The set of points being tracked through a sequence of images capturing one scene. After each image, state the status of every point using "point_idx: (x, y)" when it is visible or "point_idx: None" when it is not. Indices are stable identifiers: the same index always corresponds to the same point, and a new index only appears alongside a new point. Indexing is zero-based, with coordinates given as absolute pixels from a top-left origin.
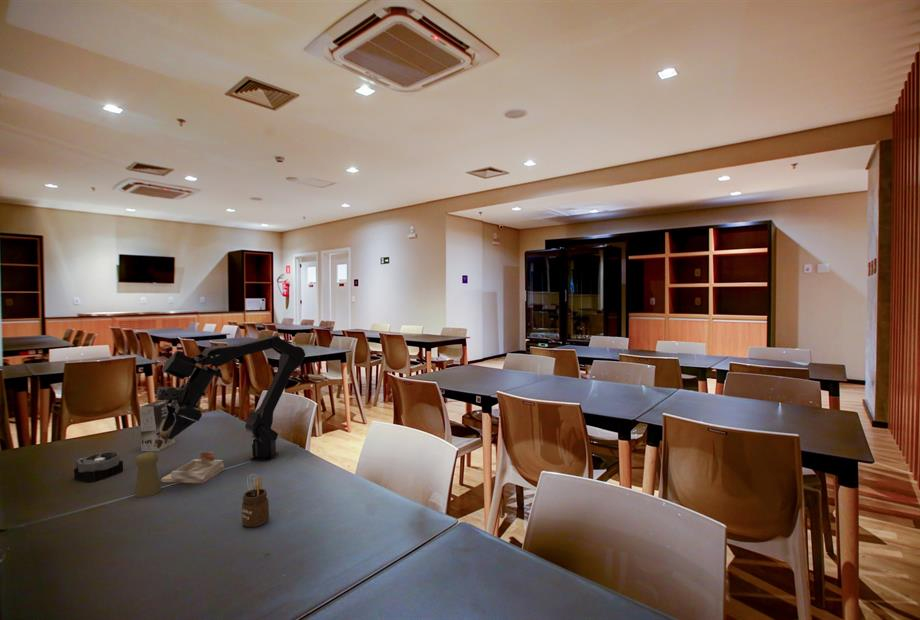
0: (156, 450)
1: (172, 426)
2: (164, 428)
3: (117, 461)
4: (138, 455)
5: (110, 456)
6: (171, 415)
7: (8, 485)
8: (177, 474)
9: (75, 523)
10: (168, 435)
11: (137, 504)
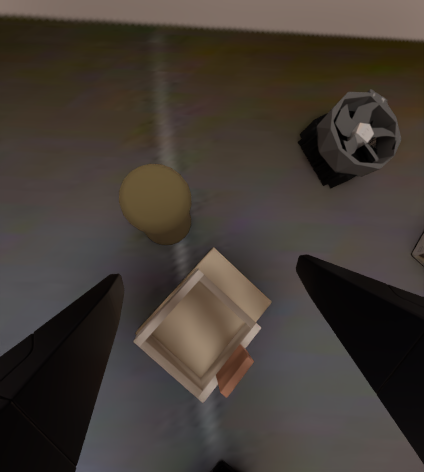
0: (415, 251)
1: (57, 331)
2: (306, 268)
3: (341, 167)
4: (164, 169)
5: (370, 152)
6: (400, 339)
7: (365, 37)
8: (186, 281)
9: (94, 102)
10: (109, 280)
11: (109, 198)
